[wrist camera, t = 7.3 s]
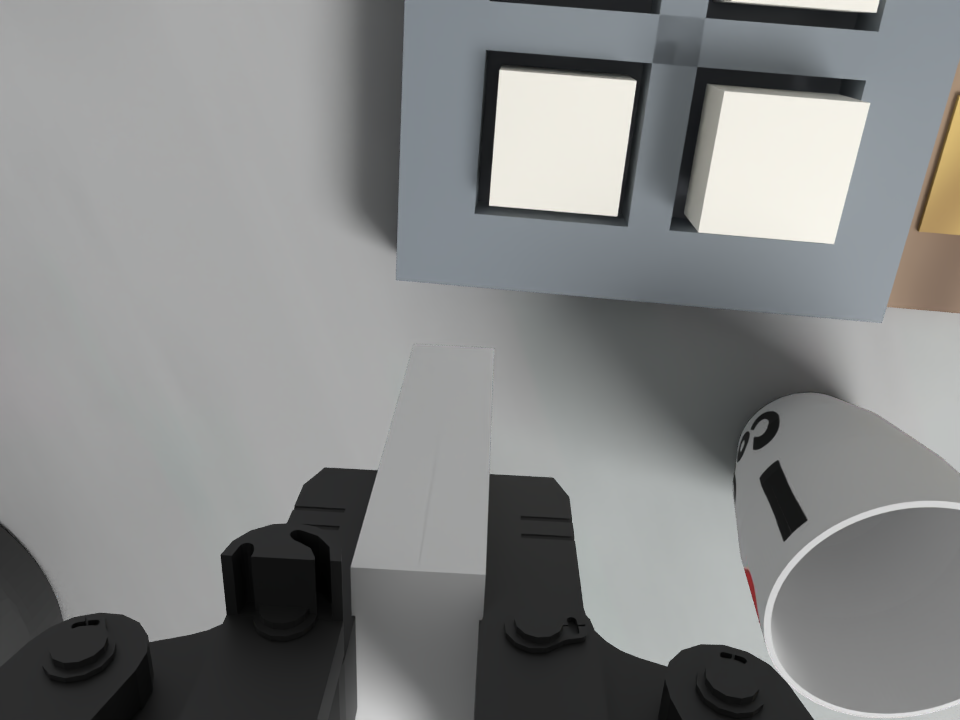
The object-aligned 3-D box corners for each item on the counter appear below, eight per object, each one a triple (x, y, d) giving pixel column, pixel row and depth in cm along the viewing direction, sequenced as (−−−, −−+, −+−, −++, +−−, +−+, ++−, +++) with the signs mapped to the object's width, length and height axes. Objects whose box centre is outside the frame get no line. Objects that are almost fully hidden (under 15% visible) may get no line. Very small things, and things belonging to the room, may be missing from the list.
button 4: (492, 189, 29) (489, 205, 26) (502, 64, 27) (499, 70, 25) (610, 199, 29) (617, 216, 26) (627, 74, 27) (636, 80, 24)
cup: (717, 350, 31) (793, 491, 22) (928, 363, 31) (1094, 511, 22) (687, 523, 35) (742, 708, 25) (878, 536, 34) (1003, 728, 25)
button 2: (683, 213, 27) (698, 232, 25) (706, 83, 26) (724, 91, 23) (807, 223, 27) (833, 244, 25) (838, 94, 26) (870, 103, 23)
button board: (406, 259, 31) (396, 280, 28) (426, -294, 24) (414, -326, 21) (855, 299, 30) (881, 322, 28) (1008, -253, 23) (1059, -282, 21)
